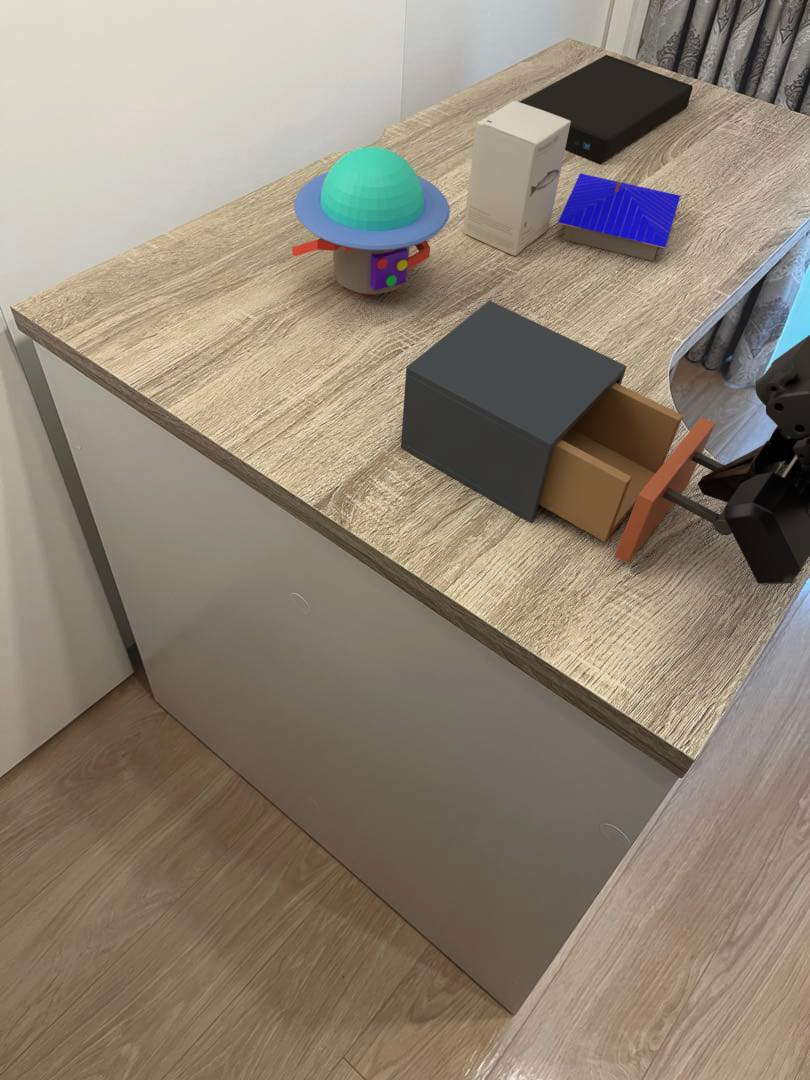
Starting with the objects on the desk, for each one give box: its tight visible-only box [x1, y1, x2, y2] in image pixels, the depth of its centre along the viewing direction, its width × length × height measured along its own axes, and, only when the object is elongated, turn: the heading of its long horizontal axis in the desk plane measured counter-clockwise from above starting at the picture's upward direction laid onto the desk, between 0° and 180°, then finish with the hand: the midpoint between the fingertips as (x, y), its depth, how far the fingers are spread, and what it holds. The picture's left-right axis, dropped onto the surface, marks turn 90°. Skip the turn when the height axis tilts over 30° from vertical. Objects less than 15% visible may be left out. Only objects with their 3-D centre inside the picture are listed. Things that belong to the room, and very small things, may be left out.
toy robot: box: [292, 146, 451, 296], centre depth 84 cm, size 15×15×14 cm
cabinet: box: [400, 300, 627, 524], centre depth 72 cm, size 13×12×9 cm
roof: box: [557, 172, 681, 262], centre depth 98 cm, size 12×12×5 cm
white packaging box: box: [462, 100, 571, 257], centre depth 93 cm, size 7×7×13 cm
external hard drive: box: [519, 54, 694, 165], centre depth 117 cm, size 14×23×3 cm, turn 140°
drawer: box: [539, 382, 733, 564], centre depth 68 cm, size 18×11×7 cm, turn 53°
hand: (701, 485), depth 65 cm, fingers closed, pressing on drawer
